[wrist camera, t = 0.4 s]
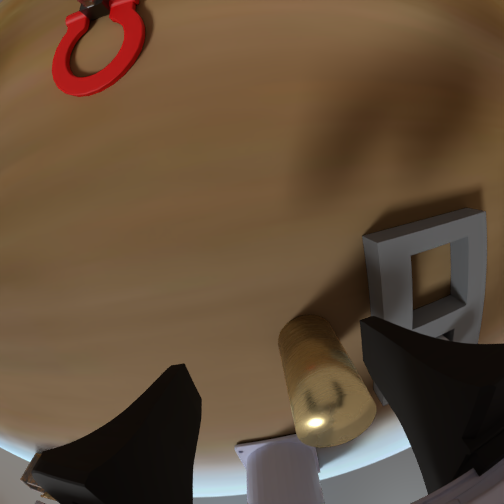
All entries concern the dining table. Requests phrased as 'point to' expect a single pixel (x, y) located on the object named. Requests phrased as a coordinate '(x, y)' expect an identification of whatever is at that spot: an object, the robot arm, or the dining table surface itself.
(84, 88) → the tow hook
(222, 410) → the dining table surface
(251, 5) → the dining table surface
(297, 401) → the cylinder
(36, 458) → the ruin model on sheet
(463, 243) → the grey holder block
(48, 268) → the dining table surface
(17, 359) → the dining table surface
